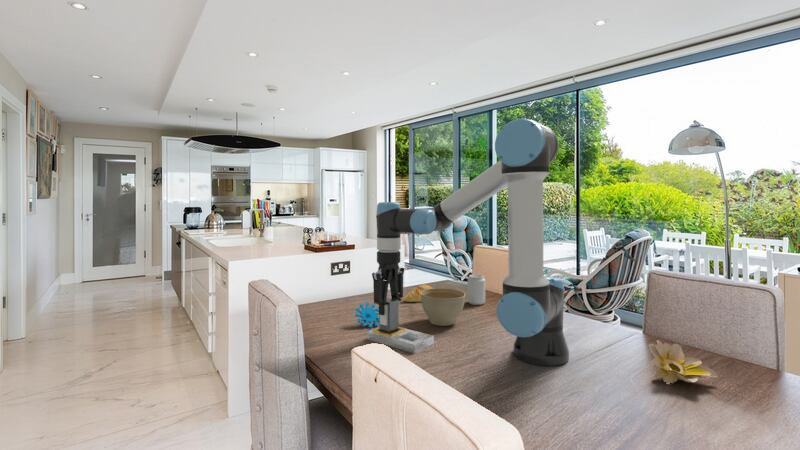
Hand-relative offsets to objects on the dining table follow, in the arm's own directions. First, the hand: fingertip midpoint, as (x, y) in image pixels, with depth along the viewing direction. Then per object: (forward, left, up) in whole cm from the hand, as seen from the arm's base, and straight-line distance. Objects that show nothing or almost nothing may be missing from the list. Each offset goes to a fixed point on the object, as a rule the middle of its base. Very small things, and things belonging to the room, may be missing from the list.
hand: (388, 322), depth 133 cm
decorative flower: (-76, -21, -6) cm, 79 cm away
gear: (+14, -7, -6) cm, 17 cm away
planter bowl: (-5, -25, -6) cm, 26 cm away
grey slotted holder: (-5, 0, -5) cm, 7 cm away
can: (-2, -56, -5) cm, 56 cm away
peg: (0, 0, -4) cm, 4 cm away
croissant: (+21, -48, -6) cm, 52 cm away
